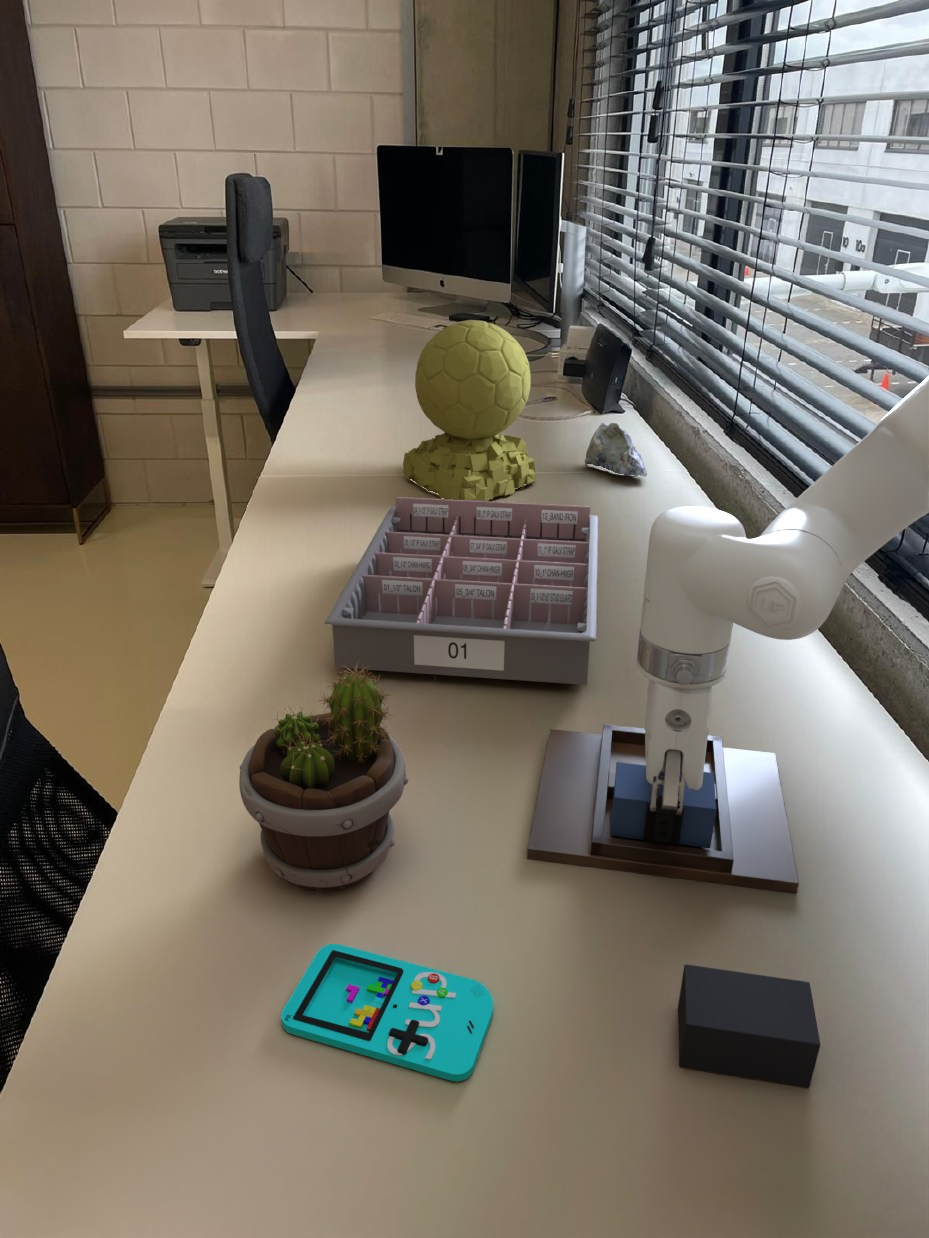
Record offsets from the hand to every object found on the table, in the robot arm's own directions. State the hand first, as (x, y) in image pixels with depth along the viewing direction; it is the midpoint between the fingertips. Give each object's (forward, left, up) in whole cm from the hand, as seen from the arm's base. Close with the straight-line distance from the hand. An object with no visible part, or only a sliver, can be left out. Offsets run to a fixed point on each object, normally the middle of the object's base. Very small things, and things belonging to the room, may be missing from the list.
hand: (661, 818), depth 89 cm
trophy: (+36, -98, -3) cm, 104 cm away
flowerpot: (+30, +8, -3) cm, 31 cm away
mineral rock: (+9, -108, -3) cm, 108 cm away
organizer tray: (+25, -43, -3) cm, 50 cm away
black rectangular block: (-6, +22, -2) cm, 23 cm away
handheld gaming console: (+20, +24, -2) cm, 31 cm away
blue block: (0, 0, 0) cm, 0 cm away
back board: (0, -5, -2) cm, 6 cm away
